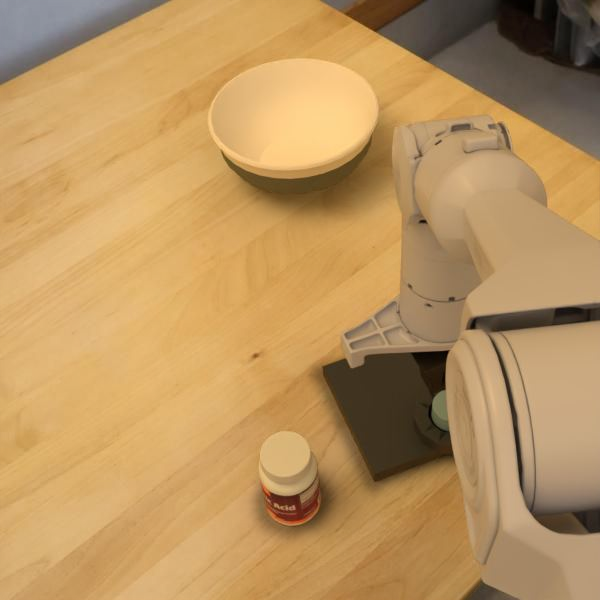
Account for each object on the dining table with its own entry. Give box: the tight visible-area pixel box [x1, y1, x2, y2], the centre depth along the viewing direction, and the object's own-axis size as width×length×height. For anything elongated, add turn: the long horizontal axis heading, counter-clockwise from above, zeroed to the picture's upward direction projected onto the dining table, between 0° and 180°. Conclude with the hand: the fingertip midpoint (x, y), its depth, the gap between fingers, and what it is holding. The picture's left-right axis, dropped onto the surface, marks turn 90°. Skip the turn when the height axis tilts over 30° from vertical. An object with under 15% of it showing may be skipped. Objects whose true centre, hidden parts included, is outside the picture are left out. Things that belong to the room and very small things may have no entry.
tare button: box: [432, 390, 450, 432], centre depth 73 cm, size 3×3×2 cm
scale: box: [321, 352, 454, 482], centre depth 76 cm, size 13×11×3 cm
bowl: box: [207, 57, 381, 195], centre depth 95 cm, size 19×19×8 cm
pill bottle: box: [257, 430, 322, 527], centre depth 69 cm, size 5×5×8 cm
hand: (433, 381), depth 68 cm, fingers closed
